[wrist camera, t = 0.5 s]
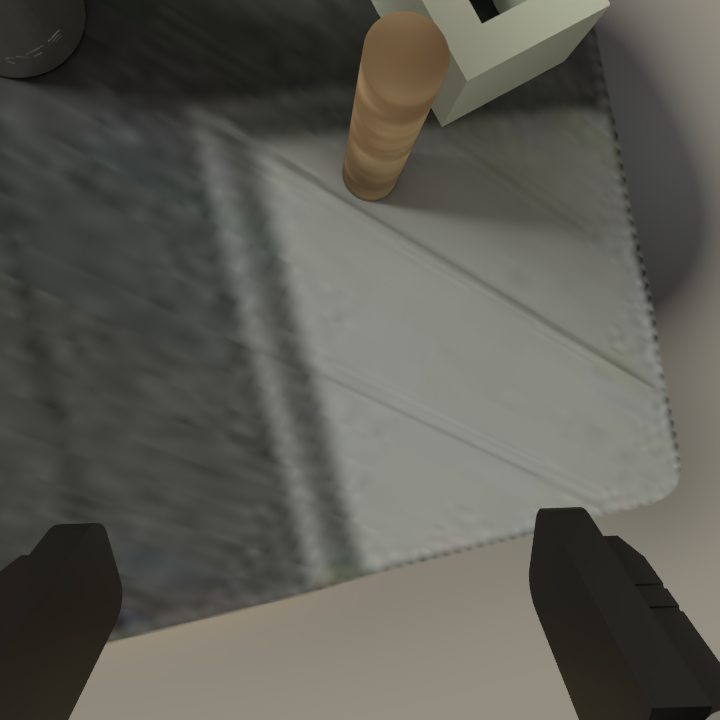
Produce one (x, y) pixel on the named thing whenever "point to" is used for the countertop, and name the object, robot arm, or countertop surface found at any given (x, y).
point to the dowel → (392, 99)
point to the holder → (499, 44)
